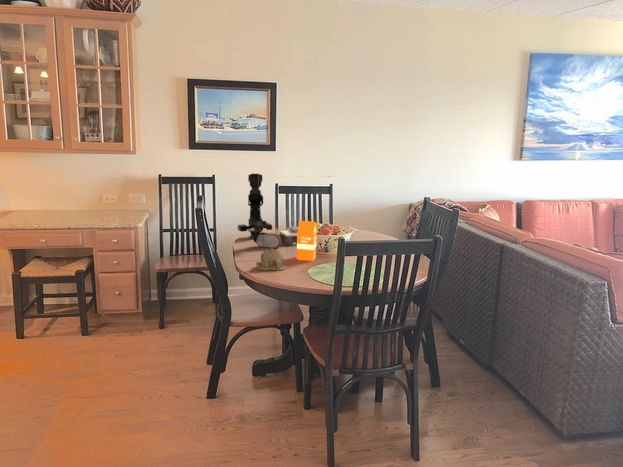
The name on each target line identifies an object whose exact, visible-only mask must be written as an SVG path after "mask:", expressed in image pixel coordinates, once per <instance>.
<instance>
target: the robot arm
mask: <svg viewBox="0 0 623 467" xmlns="http://www.w3.org/2000/svg"><path fill="white" fill-rule="evenodd" d="M247 175H248V176H247V177H248V178H247V179H248V183H249V186H250V188H251V189H250V190H249V194H247V195H248V197H247V198H248V199H247V200H248V201H247V203H248V204H247V206H248V207H249V218H248V225H246V224H238V225H237V230H238V231H239V232H247V231H248V232H249V233H250V235H249V237H248V238H250V239H252V241H253V242H254V243H256V240H257V238H258V235H259V233H261V232H263V230H264V229H266V230H267V231H272V230H273V225H272V224H270V223H269V222H267V221H266V220H263V218H262V215H261V207H262V206H263V205H264V196H263V194H262V191H261V190H260V187H261V186H262V182H263V174H260V173H250V174H247Z"/></svg>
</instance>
